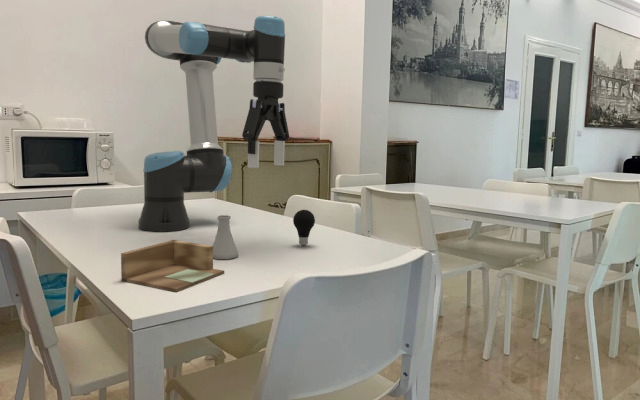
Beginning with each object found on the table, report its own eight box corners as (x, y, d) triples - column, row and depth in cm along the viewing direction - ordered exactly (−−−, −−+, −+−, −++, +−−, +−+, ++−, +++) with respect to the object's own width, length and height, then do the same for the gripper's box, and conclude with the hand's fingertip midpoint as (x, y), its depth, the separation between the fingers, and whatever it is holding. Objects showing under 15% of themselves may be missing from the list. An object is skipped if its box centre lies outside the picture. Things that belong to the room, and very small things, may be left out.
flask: (232, 261, 118) (232, 219, 117) (203, 258, 119) (203, 217, 118) (242, 254, 125) (243, 215, 124) (215, 252, 126) (216, 212, 125)
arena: (121, 280, 100) (121, 253, 99) (173, 264, 114) (173, 239, 113) (176, 292, 94) (176, 263, 94) (224, 273, 108) (224, 247, 107)
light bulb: (298, 249, 133) (299, 211, 131) (289, 244, 138) (290, 208, 136) (317, 247, 135) (319, 211, 134) (308, 243, 140) (309, 207, 139)
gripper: (256, 75, 113) (254, 169, 115) (303, 86, 136) (300, 165, 138) (228, 75, 116) (227, 168, 118) (278, 86, 138) (276, 163, 141)
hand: (266, 166), depth 128 cm, fingers open, 13 cm apart
